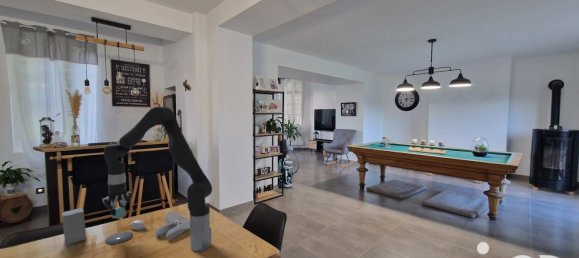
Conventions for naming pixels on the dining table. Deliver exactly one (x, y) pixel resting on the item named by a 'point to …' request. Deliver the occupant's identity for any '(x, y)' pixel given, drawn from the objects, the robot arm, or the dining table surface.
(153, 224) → the dining table surface
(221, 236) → the dining table surface
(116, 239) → the slate coaster
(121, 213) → the teal plug
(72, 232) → the skincare box
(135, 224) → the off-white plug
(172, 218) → the chrome faucet
